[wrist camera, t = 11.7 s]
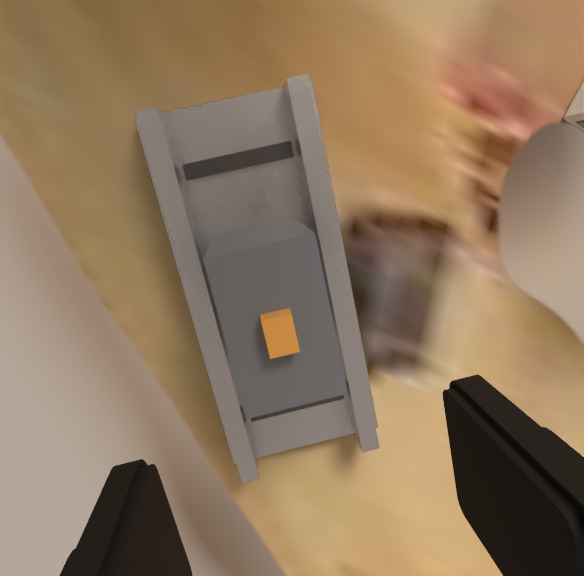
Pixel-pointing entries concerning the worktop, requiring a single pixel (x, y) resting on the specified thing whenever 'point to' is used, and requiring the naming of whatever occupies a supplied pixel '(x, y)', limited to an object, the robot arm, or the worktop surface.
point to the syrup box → (576, 109)
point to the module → (275, 316)
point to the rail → (249, 213)
